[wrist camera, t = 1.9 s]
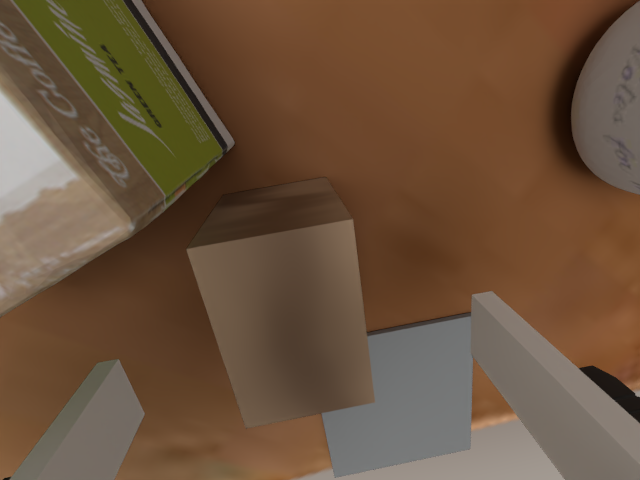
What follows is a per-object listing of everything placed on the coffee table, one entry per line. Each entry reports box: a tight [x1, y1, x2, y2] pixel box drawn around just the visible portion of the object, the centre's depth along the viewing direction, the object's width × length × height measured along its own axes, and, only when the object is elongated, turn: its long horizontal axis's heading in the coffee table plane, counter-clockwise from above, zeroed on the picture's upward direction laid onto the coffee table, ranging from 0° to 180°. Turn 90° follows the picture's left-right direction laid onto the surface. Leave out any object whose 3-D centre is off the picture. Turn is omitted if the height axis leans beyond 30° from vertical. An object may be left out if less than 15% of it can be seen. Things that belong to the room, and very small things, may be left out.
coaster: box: [322, 312, 473, 478], centre depth 26 cm, size 12×14×1 cm
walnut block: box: [186, 177, 375, 429], centre depth 17 cm, size 6×9×8 cm, turn 9°
